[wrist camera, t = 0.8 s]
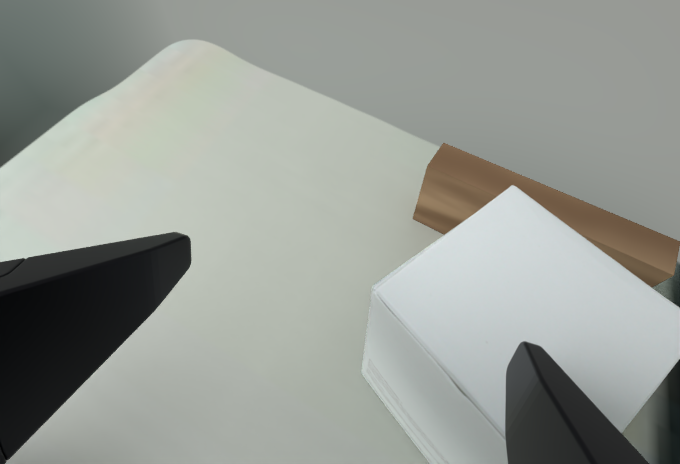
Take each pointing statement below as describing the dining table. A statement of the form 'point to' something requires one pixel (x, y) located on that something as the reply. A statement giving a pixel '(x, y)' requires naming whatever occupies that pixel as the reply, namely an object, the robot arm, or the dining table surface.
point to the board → (589, 221)
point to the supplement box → (510, 328)
